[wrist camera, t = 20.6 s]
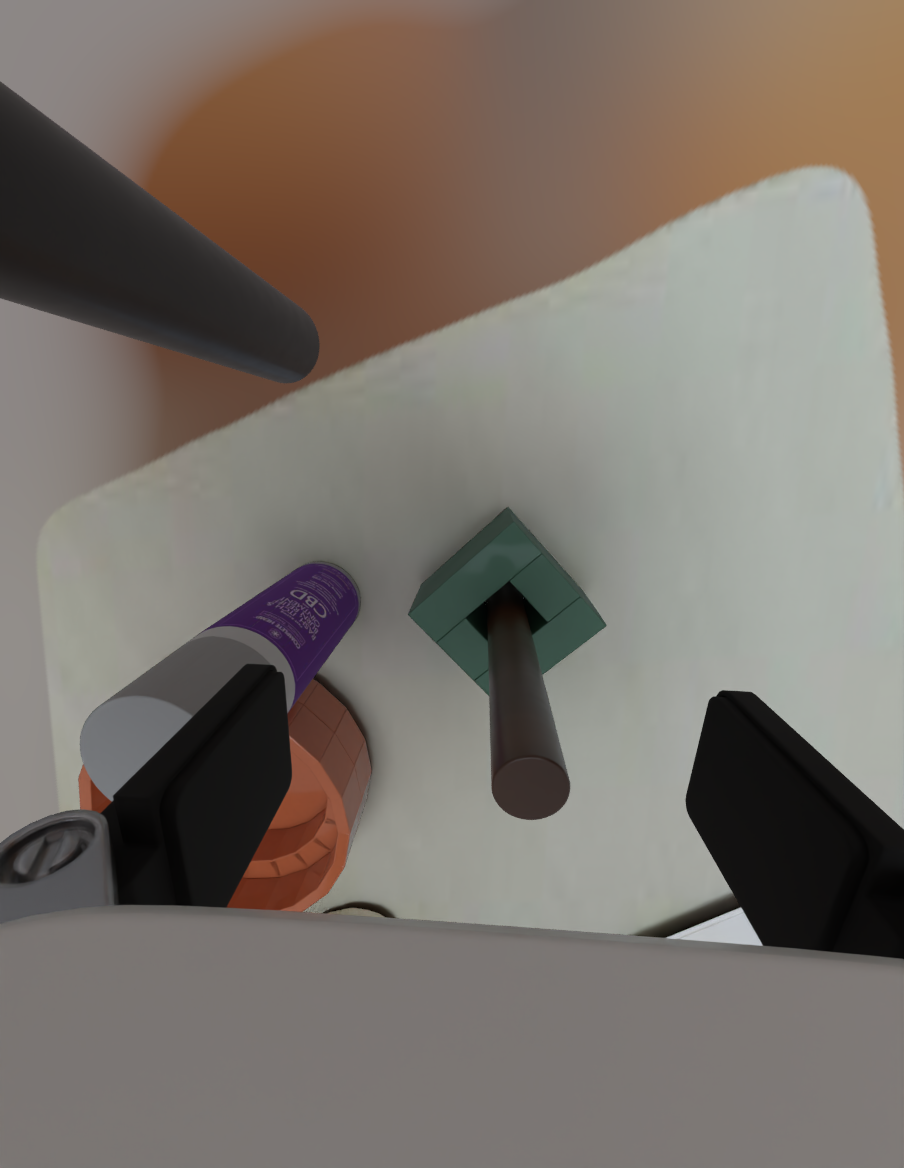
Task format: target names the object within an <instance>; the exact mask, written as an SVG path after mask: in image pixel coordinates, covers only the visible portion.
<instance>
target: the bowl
mask: <svg viewBox="0 0 904 1168" xmlns="http://www.w3.org/2000/svg"><path fill="white" fill-rule="evenodd" d="M288 726H289V738H290V751H291V763H292V780H291V784H290V787H289V790H288V792H287V794H286V796H285V797H284V799H283V801H282V803H281V805H280V807H279V809H278V811H277V813H276V815H275V816H274V818H273V820H272V822H271V824H270V826H269V828H268V830H267V832H266V833H265V835H264V837H263V839H262V841H261V843H260V845H259V847H258V849H257V851H256V852H255V854H254V856H253V858H252V860H251V862H250V864H249V866H248V868H247V870H246V871H245V873H244V875H243V877H242V879H241V881H240V883H239V885H238V887H237V889H236V890H235V892H234V894H233V896H232V898H231V900H230V902H229V904H228V906H227V907H226V908H240V909H260V910H280V911H295V912H303V911H304V910H305V909H307V908H308V907H310V906H311V905H312V904H314V903H315V902H317V901H318V900H319V899H321V898H322V897H324V896H325V895H326V894H328V892H329V891H330V889H331V888H332V886H333V885H334V883H335V882H336V880H337V878H338V877H339V875H340V874H341V872H342V871H343V869H344V867H345V865H346V862H347V859H348V855H349V852H350V849H351V846H352V843H353V840H354V837H355V834H356V831H357V828H358V825H359V822H360V819H361V816H362V813H363V810H364V807H365V804H366V801H367V796H368V790H369V784H370V778H371V772H372V771H371V765H370V760H369V755H368V750H367V745H366V740H365V738H364V736H363V735H362V733H361V731H360V730H359V728H358V726H357V724H356V723H355V721H354V719H353V718H352V716H351V714H350V713H349V711H348V709H346V707H345V706H344V705H343V704H342V703H341V702H340V701H339V700H337V699H336V698H335V697H334V696H333V695H332V694H331V693H330V692H329V691H328V690H327V689H326V688H324V687H323V686H322V685H321V684H320V683H318V682H317V681H316V680H314V679H312V681H311V682H310V683H309V685H308V686H307V687H306V689H305V690H304V692H303V693H302V694H301V696H300V697H299V698H298V700H297V701H296V703H295V704H294V705H293V707H292V708H291V710H290V711H289V712H288ZM78 780H79V796H80V810H81V809H85V810H92V811H97V812H98V813H101V812H102V811H103V810H104V809H105V808H106V807H107V806H108V805H109V804H110V803H111V802H112V801H111V800H109V799H108V798H107V797H106V796H105V795H104V794H103V793H102V792H101V791H100V790H99V789H98V788H97V787H96V785H95V784H94V783H93V781H92V780H91V778H90V777H89V775H88V773H87V771H86V769H85V767H84V764H83V766H82V769H81V772H80V775H79V778H78Z"/></svg>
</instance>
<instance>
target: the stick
mask: <svg viewBox="0 0 904 1168" xmlns="http://www.w3.org/2000/svg"><path fill="white" fill-rule="evenodd" d="M487 628H488V667H489V705H490V744H491V782H492V793H493V796H494V799H495V801H496V802H497V804H498V805H499V806H500V807H501V808H502V809H503V810H504V811H505V812H507V813H508V814H510V815H512V816H514V817H517V818H520V819H526V820H536V819H542V818H546V817H548V816H551V815H553V814H554V813H556V812H557V811H559V810H560V809H561V808H562V807H563V805H564V804H565V803H566V801H567V799H568V796H569V793H570V781H569V777H568V773H567V769H566V765H565V761H564V757H563V754H562V750H561V746H560V742H559V738H558V734H557V730H556V726H555V723H554V719H553V715H552V711H551V707H550V703H549V699H548V695H547V692H546V688H545V684H544V680H543V676H542V672H541V668H540V664H539V661H538V657H537V653H536V649H535V645H534V641H533V637H532V633H531V630H530V626H529V622H528V618H527V614H526V610H525V606H524V602H523V599H522V595H521V593H520V592H519V591H518V590H517V589H516V587H515V586H514V585H513V584H512V583H511V582H510V580H509V581H508V582H507V583H506V584H505V585H504V586H502V587H501V588H500V589H499V590H498V591H496V592H495V593H494V594H493V595H492V596H490V597H489V598H488V599H487Z"/></svg>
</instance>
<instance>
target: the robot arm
mask: <svg viewBox="0 0 904 1168" xmlns="http://www.w3.org/2000/svg"><path fill="white" fill-rule="evenodd" d="M291 780H292V763H291V751H290V738H289V726H288V714H287V702H286V689H285V678H284V674H283V673H282V672H277V669H276V667H275V666H274V665H265V664H246V665H244V666H243V667H242V668H241V669H240V670H239V671H238V672H237V673H236V674H235V675H234V676H233V677H232V678H231V679H230V680H229V681H228V682H227V683H226V684H225V685H224V686H223V687H222V688H221V689H220V690H219V691H218V692H217V693H216V694H215V695H214V696H213V697H212V698H211V699H210V700H209V701H208V702H207V703H206V704H205V705H204V706H203V707H202V708H201V709H200V710H199V711H198V712H197V713H196V714H195V715H194V716H193V717H192V718H191V719H190V720H189V721H188V722H187V723H186V724H185V725H184V726H183V727H182V728H181V729H180V730H179V731H178V732H177V733H176V734H175V735H174V736H173V737H172V738H171V739H170V740H169V741H168V742H167V743H166V744H165V745H164V746H163V747H162V748H161V749H160V750H159V751H158V752H157V753H156V754H155V755H154V756H153V757H151V758H150V759H149V760H148V761H147V762H146V763H145V764H144V765H143V766H142V767H141V768H140V769H139V770H138V771H137V772H136V773H135V774H134V775H133V776H132V777H131V778H130V779H129V780H128V781H127V782H126V783H125V784H124V785H123V786H122V787H121V788H120V789H119V790H118V791H117V792H116V793H115V794H114V795H113V801H112V802H111V803H110V804H109V805H108V806H107V807H106V808H105V809H104V810H103V811H102V812H101V813H98V812H97V811H92V810H85V809H81V810H71V811H65V812H61V813H57V814H54V815H50V816H47V817H45V818H42V819H40V820H38V821H36V822H33V823H31V824H29V825H27V826H25V827H24V828H22V829H20V830H18V831H17V832H15V833H13V834H12V835H10V836H9V837H8V838H6V839H5V840H4V841H2V842H1V843H0V1168H904V830H903V829H902V828H901V827H900V826H899V825H898V824H897V823H896V822H895V821H894V820H892V819H891V818H890V817H889V816H888V815H887V814H886V813H885V812H884V811H883V810H881V809H880V808H879V807H878V806H877V805H876V804H875V803H874V802H873V801H872V800H871V799H869V798H868V797H867V796H866V795H865V794H864V793H863V792H862V791H861V790H860V789H858V788H857V787H856V786H855V785H854V784H853V783H852V782H851V781H850V780H849V779H847V778H846V777H845V776H844V775H843V774H842V773H841V772H840V771H839V770H838V769H836V768H835V767H834V766H833V765H832V764H831V763H830V762H829V761H828V760H827V759H825V758H824V757H823V756H822V755H821V754H820V753H819V752H818V751H817V750H816V749H814V748H813V747H812V746H811V745H810V744H809V743H808V742H807V741H806V740H805V739H803V738H802V737H801V736H800V735H799V734H798V733H797V732H796V731H795V730H794V729H793V728H791V727H790V726H789V725H788V724H787V723H786V722H785V721H784V720H783V719H782V718H780V717H779V716H778V715H777V714H776V713H775V712H774V711H773V710H772V709H771V708H769V707H768V706H767V705H766V704H765V703H764V702H763V701H762V700H761V699H760V698H758V697H757V696H756V695H755V694H753V693H752V692H742V691H725V690H722V691H720V692H719V693H718V695H717V696H716V697H712V698H711V699H710V700H709V703H708V707H707V711H706V715H705V719H704V723H703V727H702V732H701V736H700V740H699V744H698V748H697V753H696V757H695V761H694V765H693V769H692V774H691V778H690V782H689V786H688V790H687V794H686V808H687V812H688V815H689V817H690V819H691V820H692V822H693V824H694V826H695V827H696V829H697V831H698V833H699V834H700V836H701V838H702V840H703V841H704V843H705V845H706V847H707V848H708V850H709V852H710V854H711V855H712V857H713V859H714V861H715V862H716V864H717V866H718V868H719V869H720V871H721V873H722V875H723V876H724V878H725V880H726V882H727V883H728V885H729V887H730V889H731V890H732V892H733V894H734V896H735V897H736V899H737V901H738V903H739V904H740V906H741V908H742V910H743V912H744V913H745V915H746V917H747V919H748V920H749V922H750V924H751V926H752V927H753V929H754V931H755V933H756V934H757V936H758V938H759V940H760V941H761V943H762V945H763V946H758V945H746V944H733V943H721V942H708V941H696V940H683V939H671V938H658V937H646V936H633V935H620V934H606V933H593V932H580V931H566V930H553V929H539V928H526V927H512V926H498V925H484V924H471V923H457V922H443V921H429V920H414V919H399V918H384V917H369V916H354V915H339V914H324V913H310V912H295V911H280V910H260V909H240V908H226V907H227V906H228V904H229V902H230V900H231V898H232V896H233V894H234V892H235V890H236V889H237V887H238V885H239V883H240V881H241V879H242V877H243V875H244V873H245V871H246V870H247V868H248V866H249V864H250V862H251V860H252V858H253V856H254V854H255V852H256V851H257V849H258V847H259V845H260V843H261V841H262V839H263V837H264V835H265V833H266V832H267V830H268V828H269V826H270V824H271V822H272V820H273V818H274V816H275V815H276V813H277V811H278V809H279V807H280V805H281V803H282V801H283V799H284V797H285V796H286V794H287V792H288V790H289V787H290V784H291Z"/></svg>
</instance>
